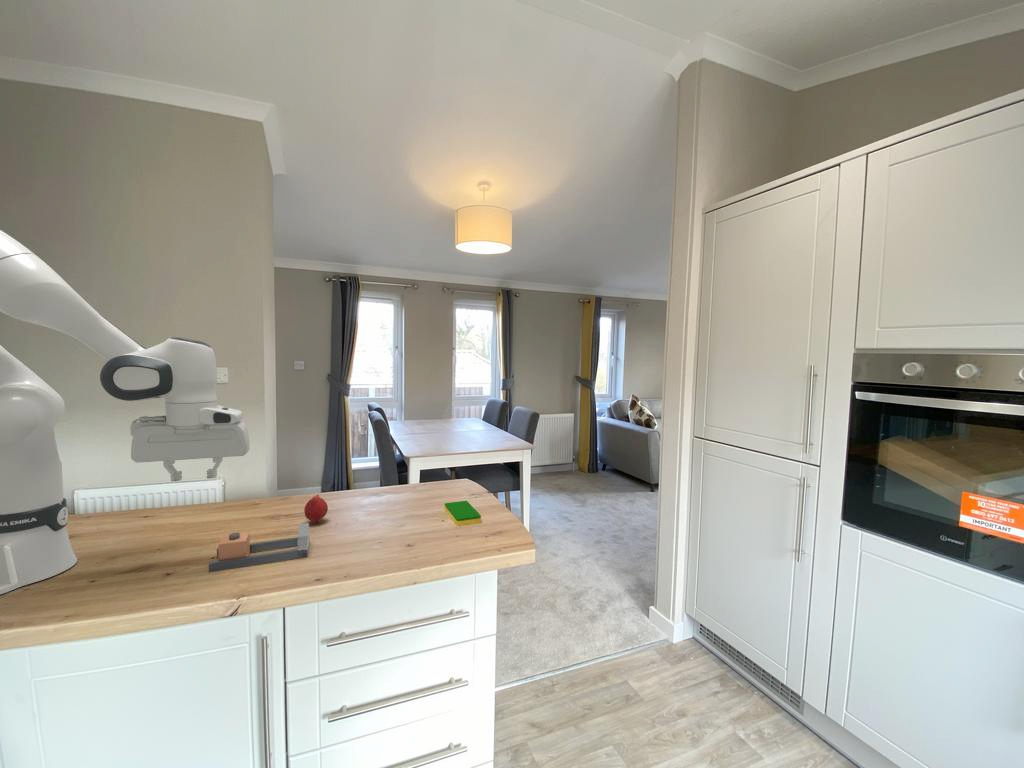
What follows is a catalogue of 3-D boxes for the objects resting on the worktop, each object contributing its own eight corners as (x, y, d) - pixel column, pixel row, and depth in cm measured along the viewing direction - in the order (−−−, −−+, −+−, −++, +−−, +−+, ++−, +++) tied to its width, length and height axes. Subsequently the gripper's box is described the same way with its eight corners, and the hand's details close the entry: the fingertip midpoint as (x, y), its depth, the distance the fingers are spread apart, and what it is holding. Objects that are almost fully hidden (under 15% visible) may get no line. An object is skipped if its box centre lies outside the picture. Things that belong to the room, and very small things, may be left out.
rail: (208, 572, 89) (208, 549, 89) (217, 555, 96) (217, 534, 96) (307, 556, 96) (307, 535, 96) (309, 542, 104) (308, 522, 103)
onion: (318, 527, 113) (318, 498, 112) (299, 525, 114) (299, 496, 113) (331, 519, 118) (331, 491, 118) (313, 517, 120) (313, 490, 119)
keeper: (218, 567, 91) (218, 540, 91) (224, 556, 96) (223, 531, 95) (245, 563, 93) (245, 537, 93) (249, 553, 97) (249, 528, 97)
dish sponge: (466, 507, 131) (466, 500, 131) (481, 524, 118) (481, 515, 118) (444, 510, 128) (444, 502, 128) (456, 527, 116) (456, 519, 115)
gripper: (123, 419, 82) (125, 488, 83) (245, 415, 90) (246, 478, 91) (136, 414, 88) (139, 479, 89) (250, 411, 96) (251, 471, 97)
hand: (194, 479), depth 90 cm, fingers open, 5 cm apart
